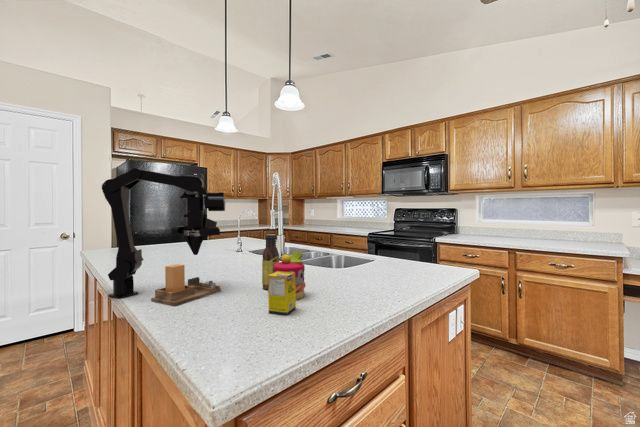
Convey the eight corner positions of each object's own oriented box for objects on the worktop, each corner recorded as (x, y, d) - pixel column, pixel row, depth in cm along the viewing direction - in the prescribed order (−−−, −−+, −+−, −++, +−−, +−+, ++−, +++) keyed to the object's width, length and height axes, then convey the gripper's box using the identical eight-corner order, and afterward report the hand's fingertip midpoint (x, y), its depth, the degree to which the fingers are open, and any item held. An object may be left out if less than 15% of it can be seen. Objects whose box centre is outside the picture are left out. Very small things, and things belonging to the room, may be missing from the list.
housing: (151, 301, 97) (151, 288, 97) (198, 287, 113) (198, 276, 113) (175, 306, 92) (175, 293, 92) (220, 291, 108) (220, 280, 108)
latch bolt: (202, 288, 107) (202, 280, 107) (207, 287, 109) (207, 279, 109) (210, 290, 105) (210, 282, 105) (215, 288, 108) (215, 280, 107)
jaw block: (165, 297, 98) (165, 266, 98) (177, 293, 102) (177, 264, 102) (173, 298, 96) (172, 267, 96) (184, 295, 100) (184, 264, 100)
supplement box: (296, 308, 89) (295, 272, 89) (287, 315, 83) (287, 276, 83) (277, 306, 91) (277, 270, 91) (268, 313, 85) (267, 274, 85)
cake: (292, 303, 94) (292, 255, 94) (266, 298, 100) (266, 252, 100) (311, 295, 103) (310, 251, 103) (286, 290, 109) (286, 249, 108)
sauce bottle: (275, 290, 108) (275, 235, 108) (259, 289, 110) (259, 235, 109) (281, 286, 115) (281, 233, 114) (266, 285, 116) (265, 233, 116)
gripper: (230, 211, 111) (231, 253, 112) (195, 211, 120) (195, 250, 120) (207, 211, 101) (207, 257, 102) (170, 211, 110) (170, 254, 110)
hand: (195, 254), depth 109 cm, fingers closed
